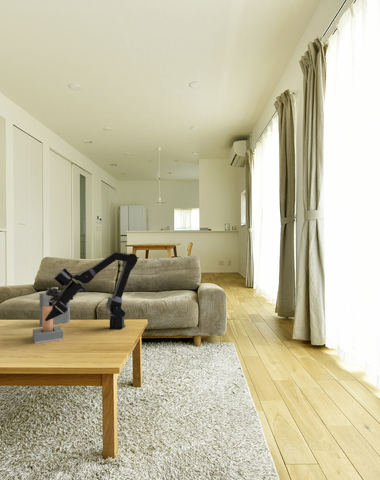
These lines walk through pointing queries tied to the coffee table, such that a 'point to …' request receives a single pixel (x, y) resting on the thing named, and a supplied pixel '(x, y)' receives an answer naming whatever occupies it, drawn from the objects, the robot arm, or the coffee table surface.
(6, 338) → the coffee table surface
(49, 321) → the pin
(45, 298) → the hip flask
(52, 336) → the socket block
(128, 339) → the coffee table surface
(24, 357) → the coffee table surface
